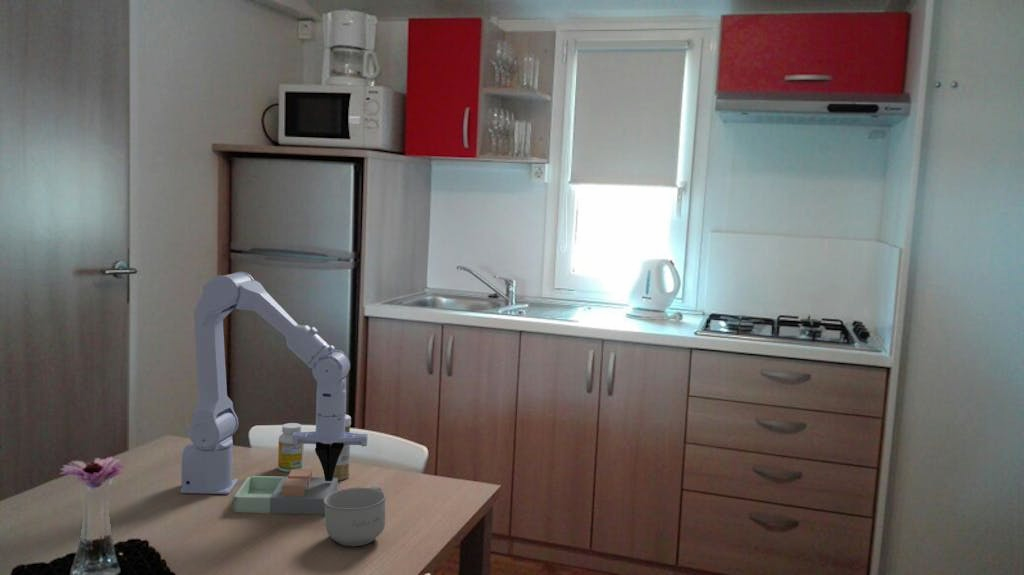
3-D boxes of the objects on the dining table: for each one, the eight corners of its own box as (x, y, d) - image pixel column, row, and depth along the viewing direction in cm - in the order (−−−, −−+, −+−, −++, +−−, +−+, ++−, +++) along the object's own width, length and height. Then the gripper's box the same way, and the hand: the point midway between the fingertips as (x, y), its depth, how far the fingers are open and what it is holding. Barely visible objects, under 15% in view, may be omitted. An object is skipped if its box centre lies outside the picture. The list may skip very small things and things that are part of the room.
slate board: (269, 513, 161) (270, 497, 161) (282, 490, 173) (282, 476, 173) (328, 514, 162) (329, 499, 162) (337, 492, 174) (337, 477, 173)
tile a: (287, 485, 168) (288, 476, 167) (291, 479, 172) (291, 469, 171) (308, 486, 168) (308, 476, 168) (311, 479, 172) (312, 469, 172)
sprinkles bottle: (343, 472, 186) (344, 412, 184) (353, 478, 182) (354, 417, 181) (323, 476, 183) (325, 414, 181) (333, 482, 179) (335, 420, 178)
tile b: (282, 495, 162) (282, 485, 162) (286, 488, 166) (286, 478, 166) (303, 496, 162) (303, 486, 162) (307, 488, 166) (307, 478, 166)
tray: (233, 512, 161) (233, 497, 160) (248, 490, 173) (248, 475, 172) (269, 513, 161) (270, 497, 161) (282, 490, 173) (282, 476, 173)
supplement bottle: (284, 463, 190) (284, 421, 189) (307, 465, 189) (308, 423, 188) (274, 471, 185) (274, 427, 183) (297, 473, 184) (298, 429, 183)
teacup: (356, 557, 144) (357, 512, 143) (309, 541, 149) (310, 497, 149) (408, 532, 156) (409, 489, 155) (363, 517, 161) (364, 476, 160)
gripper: (289, 417, 164) (288, 485, 166) (365, 419, 165) (363, 487, 167) (296, 408, 171) (295, 473, 173) (369, 410, 172) (367, 475, 174)
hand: (329, 479), depth 170 cm, fingers closed
